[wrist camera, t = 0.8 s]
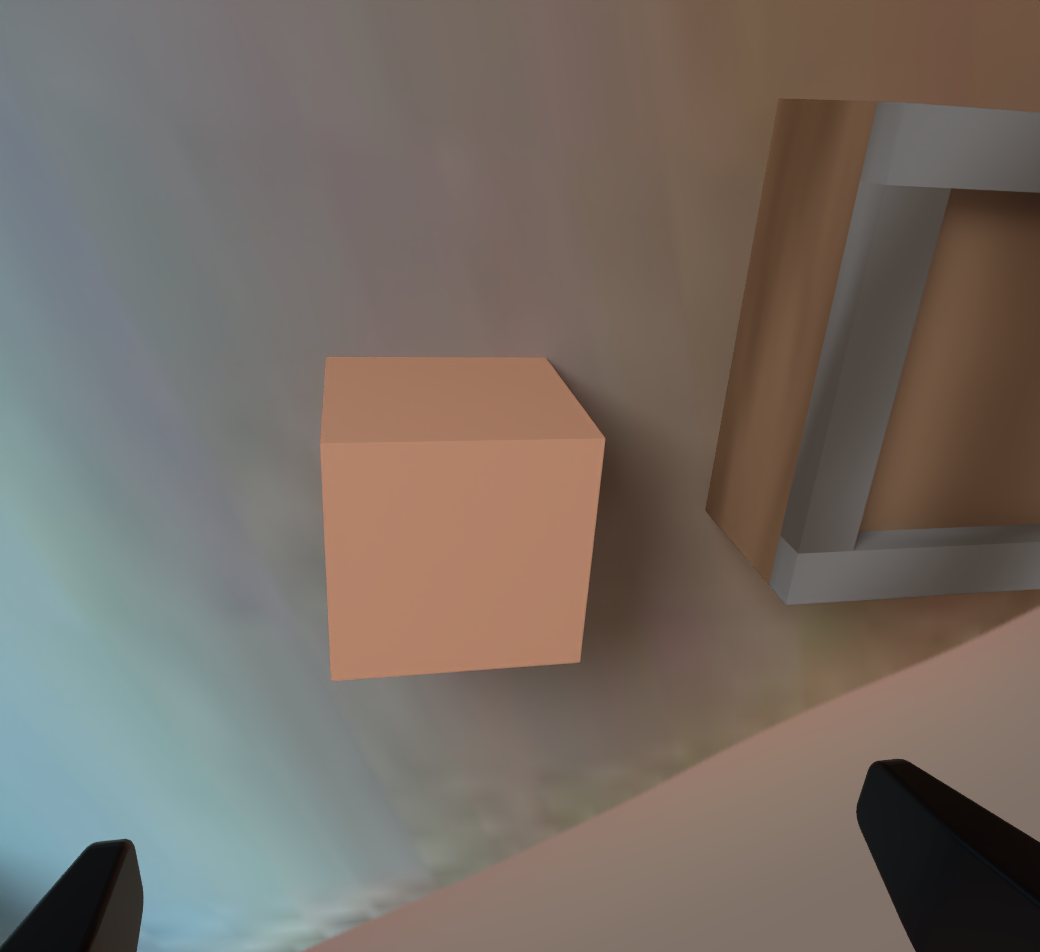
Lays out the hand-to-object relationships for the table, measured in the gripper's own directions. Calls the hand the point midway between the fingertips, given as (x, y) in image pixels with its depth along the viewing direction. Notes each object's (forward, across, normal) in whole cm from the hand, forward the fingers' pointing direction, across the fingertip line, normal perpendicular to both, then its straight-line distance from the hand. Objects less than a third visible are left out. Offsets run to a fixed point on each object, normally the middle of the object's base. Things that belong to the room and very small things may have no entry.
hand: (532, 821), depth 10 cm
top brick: (+11, 0, 0) cm, 11 cm away
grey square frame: (+11, -12, -3) cm, 17 cm away
